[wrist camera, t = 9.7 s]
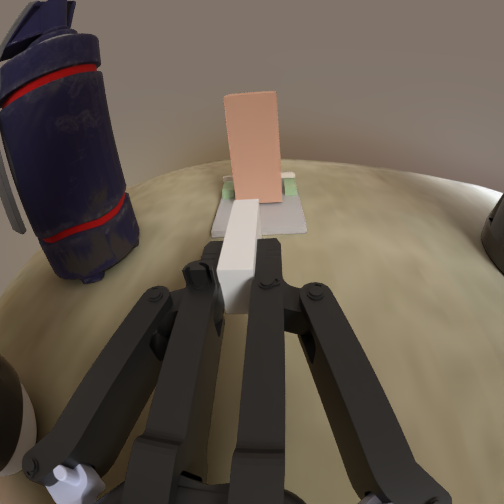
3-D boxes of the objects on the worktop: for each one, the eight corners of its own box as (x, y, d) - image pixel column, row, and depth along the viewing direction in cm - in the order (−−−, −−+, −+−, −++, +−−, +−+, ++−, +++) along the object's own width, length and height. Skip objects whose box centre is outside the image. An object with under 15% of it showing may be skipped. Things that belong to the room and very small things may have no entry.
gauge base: (293, 180, 40) (293, 168, 39) (306, 233, 28) (307, 216, 27) (228, 184, 41) (226, 172, 40) (212, 237, 29) (209, 221, 28)
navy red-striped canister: (103, 224, 35) (61, 27, 17) (162, 234, 31) (119, -16, 13) (34, 283, 25) (-33, 54, 7) (79, 315, 21) (-6, -6, 3)
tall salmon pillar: (294, 185, 36) (290, 90, 28) (298, 201, 32) (295, 92, 24) (225, 189, 37) (212, 96, 29) (219, 205, 33) (204, 99, 25)
